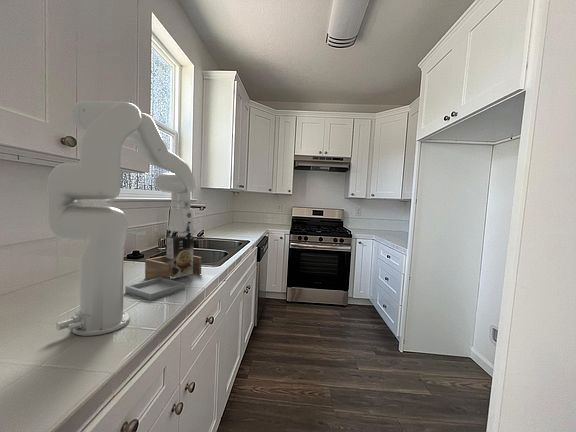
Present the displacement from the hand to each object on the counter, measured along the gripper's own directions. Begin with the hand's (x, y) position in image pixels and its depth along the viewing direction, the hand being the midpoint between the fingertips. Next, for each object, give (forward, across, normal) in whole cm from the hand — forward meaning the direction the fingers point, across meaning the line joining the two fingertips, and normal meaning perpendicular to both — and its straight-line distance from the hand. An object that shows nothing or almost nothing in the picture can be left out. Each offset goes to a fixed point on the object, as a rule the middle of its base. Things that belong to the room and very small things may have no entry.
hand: (180, 246), depth 115 cm
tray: (+14, -6, +16) cm, 22 cm away
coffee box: (+12, 0, 0) cm, 12 cm away
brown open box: (+13, +3, 0) cm, 14 cm away
